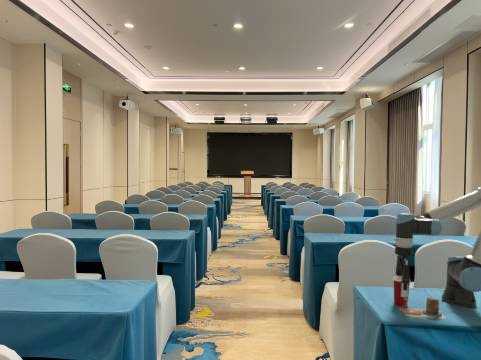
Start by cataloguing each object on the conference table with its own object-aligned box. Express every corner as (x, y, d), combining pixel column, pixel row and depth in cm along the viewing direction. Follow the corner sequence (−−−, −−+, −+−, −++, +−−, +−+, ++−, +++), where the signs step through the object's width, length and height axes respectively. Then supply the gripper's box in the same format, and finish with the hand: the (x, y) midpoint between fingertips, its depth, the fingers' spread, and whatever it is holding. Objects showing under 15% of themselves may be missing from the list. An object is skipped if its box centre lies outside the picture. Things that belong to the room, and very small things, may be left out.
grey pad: (438, 311, 200) (438, 310, 199) (444, 317, 192) (444, 316, 192) (420, 310, 201) (420, 309, 201) (425, 316, 193) (425, 314, 193)
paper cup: (410, 310, 204) (412, 280, 203) (393, 308, 205) (394, 278, 205) (407, 305, 211) (409, 276, 211) (390, 303, 213) (392, 274, 212)
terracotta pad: (418, 310, 201) (418, 309, 201) (423, 315, 193) (423, 314, 193) (400, 308, 202) (400, 307, 202) (404, 314, 194) (404, 313, 194)
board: (438, 313, 201) (438, 310, 201) (446, 321, 190) (446, 318, 190) (399, 310, 203) (399, 307, 203) (404, 318, 192) (404, 315, 192)
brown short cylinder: (436, 311, 198) (437, 297, 198) (439, 315, 193) (440, 301, 193) (424, 310, 199) (425, 297, 199) (427, 314, 194) (428, 300, 194)
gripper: (390, 241, 219) (388, 286, 220) (400, 250, 197) (398, 300, 197) (406, 242, 218) (404, 287, 219) (418, 251, 196) (416, 301, 196)
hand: (401, 293), depth 208 cm, fingers open, 10 cm apart
